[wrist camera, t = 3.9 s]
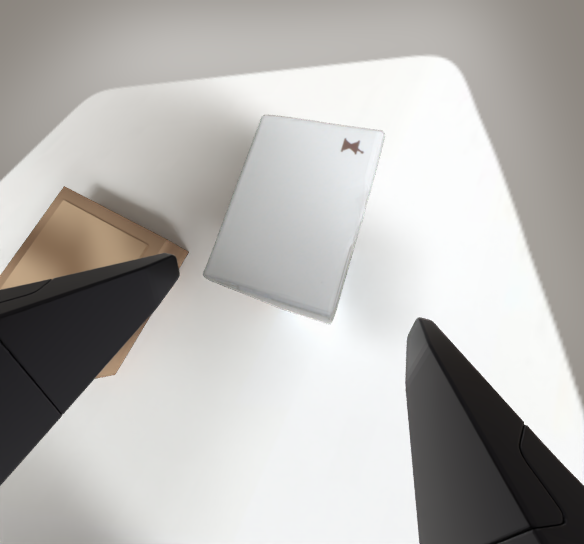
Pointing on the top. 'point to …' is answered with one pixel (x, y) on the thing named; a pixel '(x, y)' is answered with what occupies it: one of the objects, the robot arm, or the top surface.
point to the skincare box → (297, 214)
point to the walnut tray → (83, 248)
